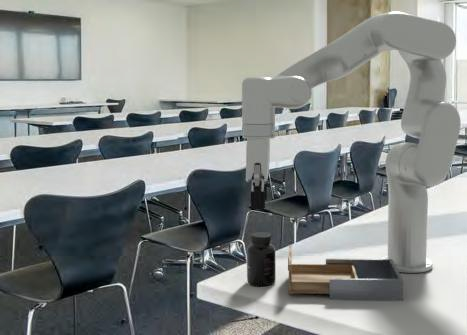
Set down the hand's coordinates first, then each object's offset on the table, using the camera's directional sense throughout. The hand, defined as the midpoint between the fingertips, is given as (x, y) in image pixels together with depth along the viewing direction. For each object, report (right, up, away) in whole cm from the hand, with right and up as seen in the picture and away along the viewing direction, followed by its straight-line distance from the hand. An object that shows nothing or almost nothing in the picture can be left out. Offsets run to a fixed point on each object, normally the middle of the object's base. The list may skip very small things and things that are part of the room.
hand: (259, 204), depth 137 cm
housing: (+23, -19, -2) cm, 30 cm away
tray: (+15, -18, -1) cm, 23 cm away
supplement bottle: (+1, -19, +3) cm, 20 cm away
